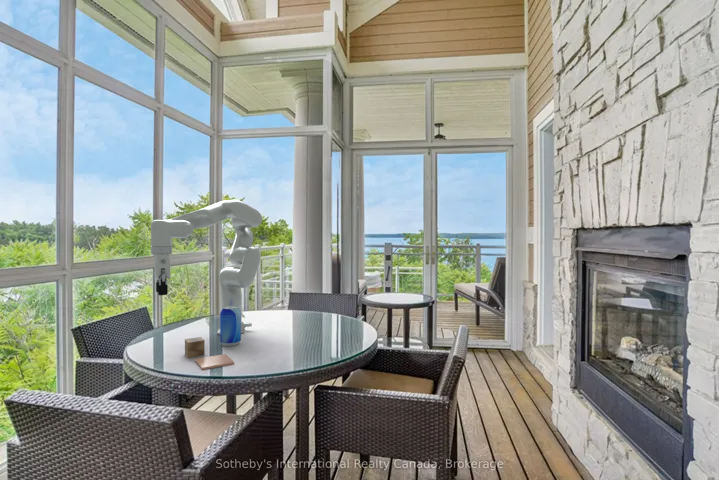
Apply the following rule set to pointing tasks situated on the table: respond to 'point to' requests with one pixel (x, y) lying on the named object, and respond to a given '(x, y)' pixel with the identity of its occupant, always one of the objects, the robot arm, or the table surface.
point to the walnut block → (194, 347)
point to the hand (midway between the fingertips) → (161, 293)
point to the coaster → (214, 361)
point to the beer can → (230, 326)
